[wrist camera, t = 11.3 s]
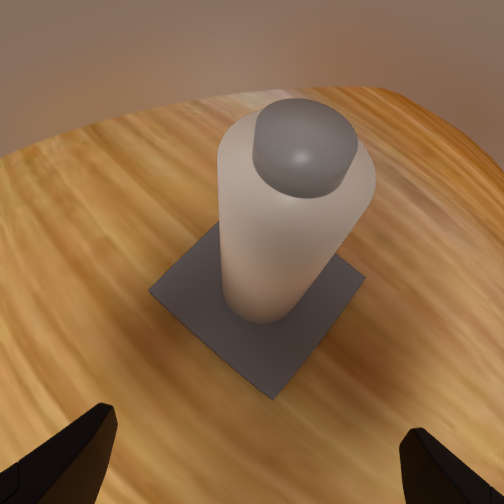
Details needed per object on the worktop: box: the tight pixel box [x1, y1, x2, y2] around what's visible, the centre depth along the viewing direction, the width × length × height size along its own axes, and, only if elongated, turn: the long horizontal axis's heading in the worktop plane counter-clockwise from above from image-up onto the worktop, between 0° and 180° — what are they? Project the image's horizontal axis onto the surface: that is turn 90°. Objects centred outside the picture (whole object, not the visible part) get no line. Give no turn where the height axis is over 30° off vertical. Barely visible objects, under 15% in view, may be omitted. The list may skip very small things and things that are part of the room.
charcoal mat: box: [149, 222, 366, 400], centre depth 20 cm, size 10×10×1 cm
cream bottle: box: [217, 99, 376, 324], centre depth 14 cm, size 5×5×13 cm
